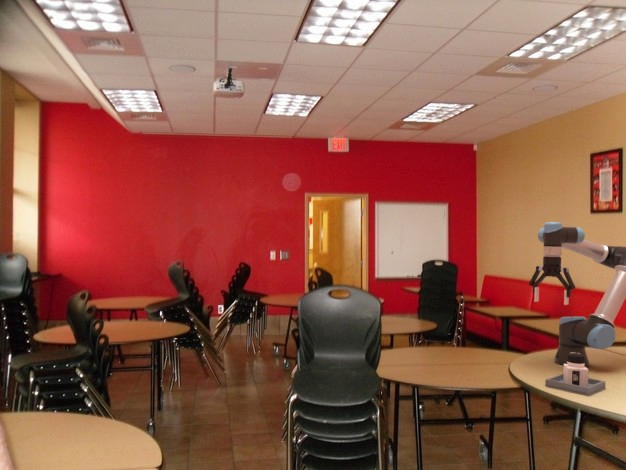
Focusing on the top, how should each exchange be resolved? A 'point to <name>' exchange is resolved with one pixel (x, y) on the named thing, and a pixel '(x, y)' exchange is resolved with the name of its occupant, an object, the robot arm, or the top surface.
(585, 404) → the top surface
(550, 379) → the tray
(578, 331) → the robot arm
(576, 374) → the container
